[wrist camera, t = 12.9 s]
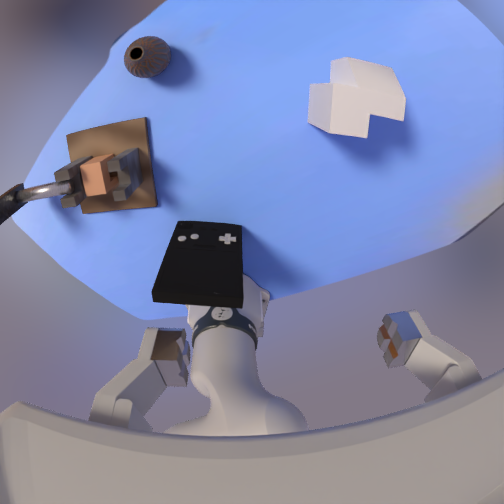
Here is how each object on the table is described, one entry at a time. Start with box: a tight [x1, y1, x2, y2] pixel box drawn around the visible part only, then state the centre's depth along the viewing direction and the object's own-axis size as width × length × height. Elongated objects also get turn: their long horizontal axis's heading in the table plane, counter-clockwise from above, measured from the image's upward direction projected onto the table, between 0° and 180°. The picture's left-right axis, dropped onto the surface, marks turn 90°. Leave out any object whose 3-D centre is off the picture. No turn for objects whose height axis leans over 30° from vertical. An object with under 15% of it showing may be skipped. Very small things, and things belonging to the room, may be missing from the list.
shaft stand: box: [54, 117, 158, 214], centre depth 40 cm, size 16×16×10 cm
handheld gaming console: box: [152, 221, 244, 309], centre depth 44 cm, size 12×5×20 cm, turn 84°
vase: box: [124, 36, 171, 78], centre depth 31 cm, size 7×7×9 cm
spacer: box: [80, 154, 118, 196], centre depth 41 cm, size 5×4×6 cm
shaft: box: [0, 179, 74, 225], centre depth 34 cm, size 4×15×10 cm, turn 91°
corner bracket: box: [308, 57, 406, 138], centre depth 34 cm, size 11×11×12 cm
